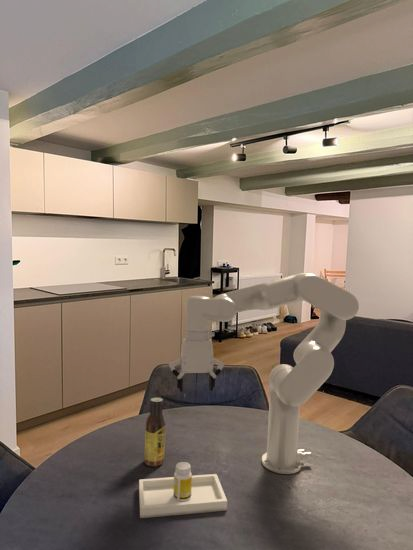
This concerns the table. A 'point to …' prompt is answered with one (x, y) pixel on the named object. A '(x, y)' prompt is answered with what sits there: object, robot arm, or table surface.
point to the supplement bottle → (182, 481)
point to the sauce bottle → (155, 434)
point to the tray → (161, 501)
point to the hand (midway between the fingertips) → (195, 390)
